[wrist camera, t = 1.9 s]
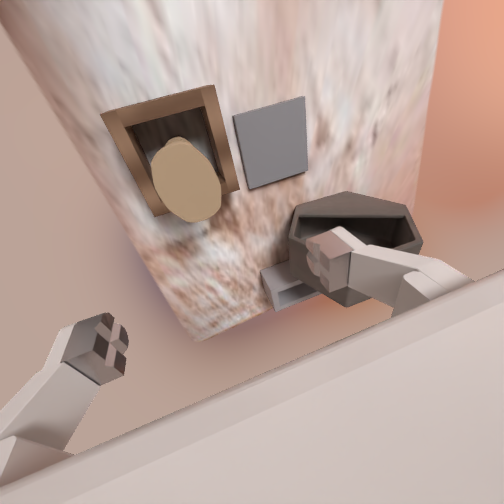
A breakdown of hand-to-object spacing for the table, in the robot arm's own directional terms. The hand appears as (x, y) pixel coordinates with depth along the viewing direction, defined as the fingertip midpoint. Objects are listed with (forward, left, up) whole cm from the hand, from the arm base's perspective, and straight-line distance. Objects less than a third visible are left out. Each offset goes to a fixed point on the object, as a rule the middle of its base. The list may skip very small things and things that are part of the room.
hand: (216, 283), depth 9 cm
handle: (0, 0, -27) cm, 27 cm away
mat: (+3, +13, -27) cm, 30 cm away
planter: (+18, +20, -27) cm, 38 cm away
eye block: (0, 0, -27) cm, 27 cm away
